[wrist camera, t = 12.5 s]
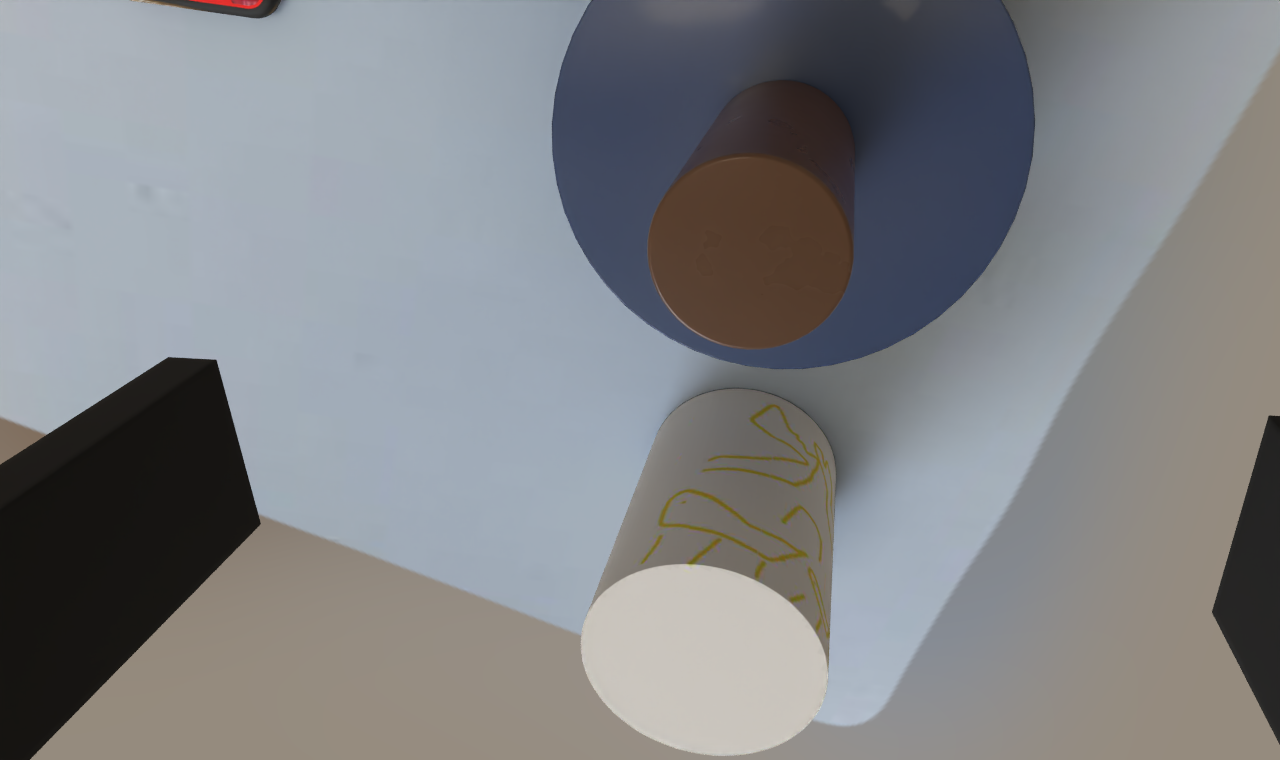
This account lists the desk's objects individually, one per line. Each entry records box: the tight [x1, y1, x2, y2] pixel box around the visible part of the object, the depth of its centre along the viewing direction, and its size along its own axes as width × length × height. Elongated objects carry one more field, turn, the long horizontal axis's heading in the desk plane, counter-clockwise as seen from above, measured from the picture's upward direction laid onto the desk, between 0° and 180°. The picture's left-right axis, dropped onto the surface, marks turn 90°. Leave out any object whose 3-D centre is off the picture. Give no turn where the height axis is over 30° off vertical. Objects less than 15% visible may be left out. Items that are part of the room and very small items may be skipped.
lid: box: [552, 0, 1035, 369], centre depth 22 cm, size 13×13×10 cm
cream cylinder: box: [581, 389, 836, 756], centre depth 35 cm, size 8×8×12 cm
